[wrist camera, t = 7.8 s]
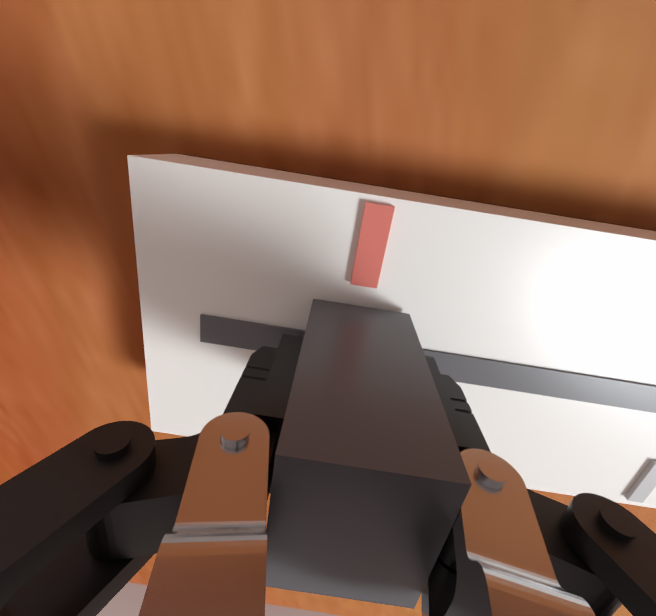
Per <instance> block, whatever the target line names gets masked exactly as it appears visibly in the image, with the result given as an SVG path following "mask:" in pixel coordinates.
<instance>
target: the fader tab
mask: <svg viewBox="0 0 656 616" xmlns="http://www.w3.org/2000/svg"><path fill="white" fill-rule="evenodd" d="M471 485H472V484H471V481H470V479H469V476H468V473H467V470H466V468H465V465H464V462H463V459H462V457H461V454H460V451H459V448H458V446H457V443H456V440H455V437H454V435H453V432H452V429H451V426H450V424H449V421H448V418H447V415H446V413H445V410H444V407H443V404H442V402H441V399H440V396H439V394H438V391H437V388H436V385H435V383H434V380H433V377H432V374H431V372H430V369H429V366H428V363H427V361H426V358H425V355H424V352H423V350H422V347H421V344H420V341H419V339H418V336H417V333H416V330H415V328H414V325H413V322H412V319H411V317H410V314H407V313H401V312H394V311H388V310H382V309H376V308H369V307H363V306H357V305H350V304H344V303H338V302H331V301H325V300H319V299H313V302H312V306H311V310H310V314H309V318H308V322H307V326H306V330H305V334H304V339H303V343H302V347H301V351H300V355H299V359H298V363H297V367H296V371H295V376H294V380H293V384H292V388H291V392H290V396H289V400H288V404H287V408H286V413H285V417H284V421H283V425H282V429H281V433H280V437H279V441H278V445H277V450H276V454H275V461H274V470H273V479H272V487H271V496H270V505H269V514H268V522H267V562H266V587H273V588H280V589H286V590H293V591H300V592H307V593H313V594H320V595H327V596H333V597H340V598H347V599H353V600H360V601H367V602H373V603H380V604H387V605H393V606H400V607H407V608H413V609H414V607H415V605H416V603H417V601H418V599H419V597H420V594H421V592H422V590H423V588H424V586H425V584H426V582H427V579H428V577H429V575H430V573H431V571H432V569H433V567H434V564H435V562H436V560H437V558H438V556H439V554H440V552H441V549H442V547H443V545H444V543H445V541H446V539H447V537H448V534H449V532H450V530H451V528H452V526H453V524H454V522H455V519H456V517H457V515H458V513H459V511H460V509H461V507H462V504H463V502H464V500H465V498H466V496H467V494H468V492H469V489H470V487H471Z"/></svg>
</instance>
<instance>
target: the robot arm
mask: <svg viewBox="0 0 656 616" xmlns="http://www.w3.org/2000/svg"><path fill="white" fill-rule="evenodd" d="M303 339H304V336H303V335H297V334H291V333H283V335H282V337H281V340H280V343H279V346H278V348H273V347H267V346H262V347H261V348H259V349H258V350H257V351H255V352H254V353H252V354H251V356H250V358H249V360H248V362H247V364H246V368H245V369H244V371H243V373H242V375H241V377H240V379H239V381H238V383H237V385H236V387H235V390H234V392H233V394H232V396H231V398H230V400H229V402H228V404H227V406H226V408H225V410H224V413H223V414H222V415H220V416H217V417H215V418H214V419H212V420H211V421H209V422H208V423H207V424H206V425H205V426H204V427H203V429H202V430H201V433H199V434H196V435H192V436H189V437H182V438H173V439H164V440H155V436H154V434H153V432H152V430H151V429H150V428H149V427H147V426H146V425H144V424H142V423H139V422H134V421H118V422H113V423H109V424H105V425H102V426H100V427H97V428H95V429H93V430H91V431H90V432H88V433H86V434H84V435H83V436H81V437H80V438H78V439H76V440H75V441H73V442H71V443H70V444H68V445H66V446H65V447H63V448H61V449H60V450H58V451H56V452H55V453H53V454H51V455H50V456H48V457H46V458H45V459H43V460H41V461H40V462H38V463H36V464H35V465H33V466H31V467H30V468H28V469H26V470H25V471H23V472H21V473H20V474H18V475H16V476H15V477H13V478H12V479H10V480H8V481H7V482H5V483H3V484H2V485H0V616H96V615H97V614H98V613H99V612H100V611H101V610H102V609H103V608H104V607H105V606H106V605H107V604H108V602H109V601H110V600H111V599H112V598H113V597H114V596H115V595H116V594H117V593H118V592H119V591H120V590H121V589H122V588H123V587H124V586H125V584H127V582H128V581H129V580H130V579H131V578H132V577H133V576H134V575H135V574H136V573H137V572H138V571H139V570H140V569H141V568H142V567H143V566H144V565H145V563H146V562H147V561H148V560H149V559H150V558H151V557H152V556H153V555H154V554H155V553H157V556H156V559H155V562H154V566H153V569H152V572H151V576H150V579H149V582H148V586H147V589H146V593H145V596H144V599H143V603H142V606H141V609H140V613H139V616H265V591H266V562H267V529H266V512H267V500H268V495H269V493H271V487H272V479H273V470H274V461H275V454H276V450H277V445H278V441H279V437H280V433H281V429H282V425H283V421H284V417H285V413H286V408H287V404H288V400H289V396H290V392H291V388H292V384H293V380H294V376H295V371H296V367H297V363H298V359H299V355H300V351H301V347H302V343H303ZM425 358H426V361H427V363H428V366H429V369H430V372H431V374H432V377H433V380H434V383H435V385H436V388H437V391H438V394H439V396H440V399H441V402H442V404H443V407H444V410H445V413H446V415H447V418H448V421H449V424H450V426H451V429H452V432H453V435H454V437H455V440H456V443H457V446H458V448H459V451H460V454H461V457H462V459H463V462H464V465H465V468H466V470H467V473H468V476H469V479H470V481H471V484H472V485H471V487H470V489H469V492H468V494H467V496H466V498H465V500H464V502H463V504H462V507H461V509H460V511H459V513H458V515H457V517H456V519H455V522H454V524H453V526H452V528H451V530H450V532H449V534H448V537H447V539H446V541H445V543H444V545H443V547H442V549H441V552H440V554H439V556H438V558H437V560H436V562H435V564H434V567H433V569H432V571H431V573H430V575H429V577H428V579H427V582H426V584H425V586H424V588H423V590H422V616H612V615H613V614H614V613H615V611H616V610H617V609H618V608H619V607H620V606H621V605H622V604H623V605H624V606H625V607H626V608H627V609H628V611H629V612H630V613H631V614H632V615H633V616H656V534H655V533H654V532H653V531H652V530H650V529H649V528H648V527H647V526H646V525H645V524H644V523H642V522H641V521H640V520H639V519H638V518H637V517H635V516H634V515H633V514H632V513H631V512H629V511H628V510H626V509H625V508H624V507H622V506H620V505H619V504H617V503H615V502H614V501H612V500H610V499H608V498H605V497H603V496H600V495H596V494H592V493H580V494H578V495H576V496H575V497H574V498H573V500H572V501H571V503H570V504H569V506H567V505H564V504H562V503H560V502H557V501H555V500H552V499H550V498H547V497H545V496H543V495H540V494H538V493H535V492H533V491H531V490H529V489H527V488H526V485H525V483H524V481H523V479H522V477H521V476H520V474H519V473H518V472H517V471H516V470H515V469H514V468H513V467H512V466H511V465H510V464H509V463H508V462H507V461H505V460H504V459H502V458H501V457H499V456H497V455H495V454H493V453H491V451H490V449H489V447H488V445H487V442H486V440H485V438H484V436H483V434H482V432H481V429H480V427H479V425H478V423H477V421H476V419H475V417H474V414H472V410H471V408H470V406H469V404H468V403H467V399H466V397H465V395H464V393H463V391H462V389H461V387H460V386H459V385H458V384H457V383H456V382H455V381H454V380H453V379H452V378H451V377H450V376H449V375H444V374H440V371H439V369H438V366H437V364H436V361H435V359H434V357H433V356H429V355H425Z"/></svg>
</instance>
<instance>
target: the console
mask: <svg viewBox="0 0 656 616" xmlns="http://www.w3.org/2000/svg"><path fill="white" fill-rule="evenodd" d="M127 160H128V171H129V182H130V194H131V205H132V216H133V227H134V239H135V250H136V261H137V272H138V284H139V295H140V306H141V318H142V329H143V340H144V351H145V363H146V374H147V385H148V396H149V408H150V419H151V430H152V431H156V432H162V433H169V434H175V435H182V436H192V435H196V434H199V433H201V430H202V429H203V427H204V426H205V425H206V424H207V423H208V422H209V421H211V420H212V419H214V418H215V417H217V416H220V415H222V414H223V413H224V410H225V408H226V406H227V404H228V402H229V400H230V398H231V396H232V394H233V392H234V390H235V387H236V385H237V383H238V381H239V379H240V377H241V375H242V373H243V371H244V369H245V368H246V364H247V362H248V360H249V358H250V356H251V354H252V353H254V352H255V351H257V350H258V349H259V348H261V347H262V346H267V347H273V348H278V346H279V343H280V340H281V337H282V335H283V333H291V334H297V335H303V336H304V334H305V330H306V326H307V322H308V318H309V314H310V310H311V306H312V302H313V299H319V300H325V301H331V302H338V303H344V304H350V305H357V306H363V307H369V308H376V309H382V310H388V311H394V312H401V313H407V314H410V317H411V319H412V322H413V325H414V328H415V330H416V333H417V336H418V339H419V341H420V344H421V347H422V350H423V352H424V355H429V356H433V357H434V359H435V361H436V364H437V366H438V369H439V371H440V374H444V375H449V376H450V377H451V378H452V379H453V380H454V381H455V382H456V383H457V384H458V385H459V386H460V387H461V389H462V391H463V393H464V395H465V397H466V399H467V403H468V404H469V406H470V408H471V410H472V414H474V417H475V419H476V421H477V423H478V425H479V427H480V429H481V432H482V434H483V436H484V438H485V440H486V442H487V445H488V447H489V449H490V451H491V453H493V454H495V455H497V456H499V457H501V458H502V459H504V460H505V461H507V462H508V463H509V464H510V465H511V466H512V467H513V468H514V469H515V470H516V471H517V472H518V473H519V474H520V476H521V477H522V479H523V481H524V483H525V485H526V488H527V489H533V490H540V491H546V492H553V493H559V494H566V495H572V496H576V495H578V494H580V493H592V494H596V495H600V496H603V497H605V498H608V499H610V500H612V501H614V502H618V503H625V504H631V505H638V506H644V507H651V508H656V231H651V230H645V229H638V228H632V227H626V226H620V225H614V224H608V223H601V222H595V221H589V220H583V219H577V218H570V217H564V216H558V215H552V214H546V213H540V212H533V211H527V210H521V209H515V208H509V207H503V206H496V205H490V204H484V203H478V202H472V201H465V200H459V199H453V198H447V197H441V196H435V195H428V194H422V193H416V192H410V191H404V190H398V189H391V188H385V187H379V186H373V185H367V184H360V183H354V182H348V181H342V180H336V179H330V178H323V177H317V176H311V175H305V174H299V173H293V172H286V171H280V170H274V169H268V168H262V167H255V166H249V165H243V164H237V163H231V162H225V161H218V160H212V159H206V158H200V157H194V156H188V155H181V154H149V155H127Z"/></svg>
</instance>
